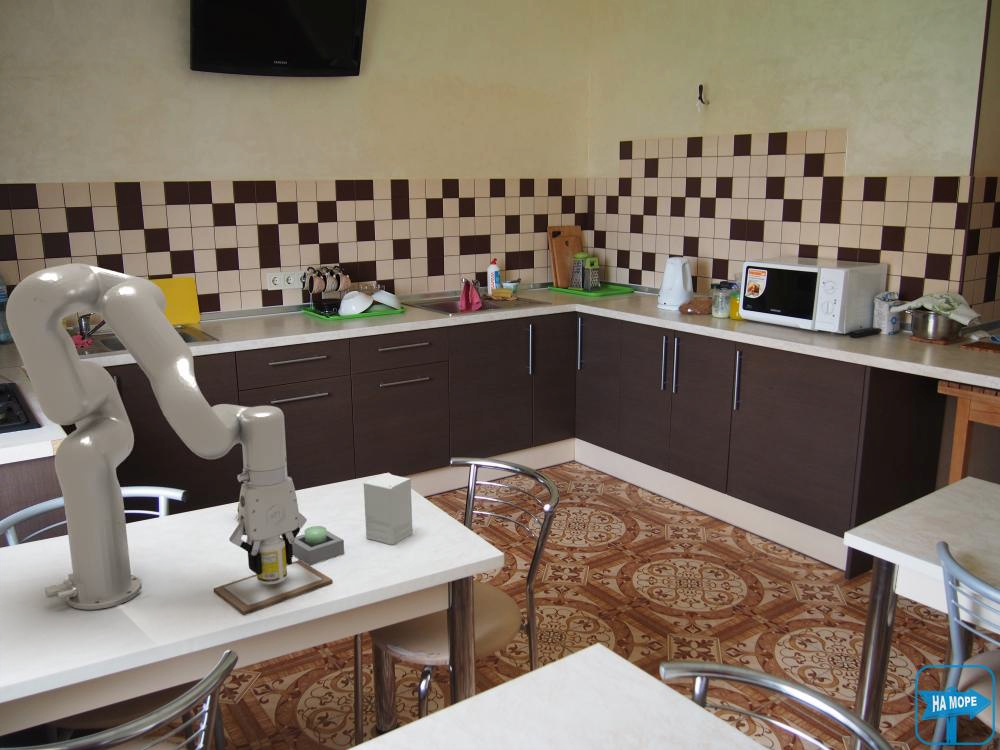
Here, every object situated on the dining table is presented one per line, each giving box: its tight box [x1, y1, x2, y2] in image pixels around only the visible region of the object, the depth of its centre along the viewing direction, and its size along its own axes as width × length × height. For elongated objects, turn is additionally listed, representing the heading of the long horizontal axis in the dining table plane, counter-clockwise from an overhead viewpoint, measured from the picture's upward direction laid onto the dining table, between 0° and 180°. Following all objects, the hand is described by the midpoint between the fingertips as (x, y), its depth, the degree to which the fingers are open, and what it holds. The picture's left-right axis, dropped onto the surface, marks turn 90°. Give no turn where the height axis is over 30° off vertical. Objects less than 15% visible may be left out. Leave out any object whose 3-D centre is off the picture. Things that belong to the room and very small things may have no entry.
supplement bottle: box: [257, 535, 287, 584], centre depth 159 cm, size 5×5×10 cm
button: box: [303, 525, 328, 544], centre depth 174 cm, size 4×4×2 cm
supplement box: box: [363, 473, 413, 545], centre depth 182 cm, size 7×7×13 cm
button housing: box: [292, 530, 345, 566], centre depth 175 cm, size 8×8×3 cm
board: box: [213, 559, 334, 616], centre depth 160 cm, size 18×12×1 cm, turn 133°
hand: (271, 566), depth 159 cm, fingers closed on supplement bottle, 5 cm apart
